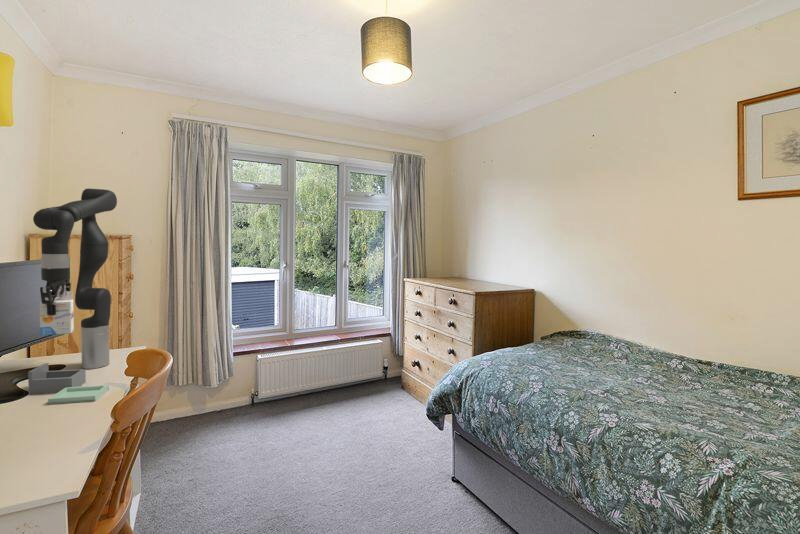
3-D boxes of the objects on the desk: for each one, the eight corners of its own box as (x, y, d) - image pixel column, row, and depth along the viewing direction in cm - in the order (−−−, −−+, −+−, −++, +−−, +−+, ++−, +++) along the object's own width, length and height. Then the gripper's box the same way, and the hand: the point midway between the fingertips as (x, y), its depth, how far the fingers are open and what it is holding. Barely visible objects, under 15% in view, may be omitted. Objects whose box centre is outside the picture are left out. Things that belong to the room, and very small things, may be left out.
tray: (65, 392, 133) (65, 387, 133) (108, 389, 137) (108, 384, 137) (48, 404, 123) (48, 399, 123) (95, 401, 127) (95, 395, 127)
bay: (45, 384, 139) (45, 363, 139) (85, 382, 143) (85, 361, 142) (28, 394, 130) (28, 371, 130) (71, 391, 134) (71, 369, 133)
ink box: (39, 335, 131) (38, 293, 130) (43, 332, 135) (42, 291, 134) (71, 333, 135) (70, 292, 135) (74, 330, 140) (73, 291, 139)
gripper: (54, 264, 139) (56, 309, 141) (29, 268, 126) (30, 317, 127) (79, 265, 142) (80, 309, 143) (56, 268, 128) (57, 317, 129)
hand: (56, 313), depth 135 cm, fingers closed on ink box, 5 cm apart
